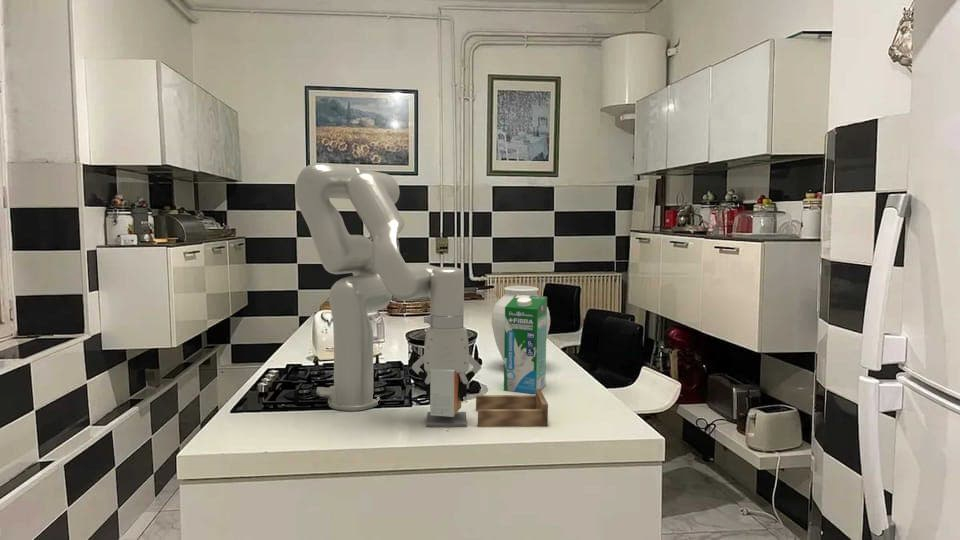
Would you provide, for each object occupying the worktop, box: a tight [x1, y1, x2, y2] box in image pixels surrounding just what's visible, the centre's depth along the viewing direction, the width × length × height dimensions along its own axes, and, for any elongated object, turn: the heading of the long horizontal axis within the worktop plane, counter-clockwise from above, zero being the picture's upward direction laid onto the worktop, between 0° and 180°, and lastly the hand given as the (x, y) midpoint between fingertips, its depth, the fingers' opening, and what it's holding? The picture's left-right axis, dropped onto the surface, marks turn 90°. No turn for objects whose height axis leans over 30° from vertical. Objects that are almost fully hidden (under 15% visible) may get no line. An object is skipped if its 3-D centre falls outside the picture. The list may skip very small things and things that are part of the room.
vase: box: [491, 285, 551, 361], centre depth 196 cm, size 18×18×25 cm
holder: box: [475, 389, 549, 427], centre depth 150 cm, size 16×12×5 cm
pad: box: [425, 411, 468, 428], centre depth 147 cm, size 9×9×1 cm
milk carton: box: [503, 295, 548, 395], centre depth 174 cm, size 9×9×25 cm
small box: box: [429, 369, 462, 417], centre depth 147 cm, size 8×6×10 cm
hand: (446, 399), depth 147 cm, fingers closed on small box, 6 cm apart
